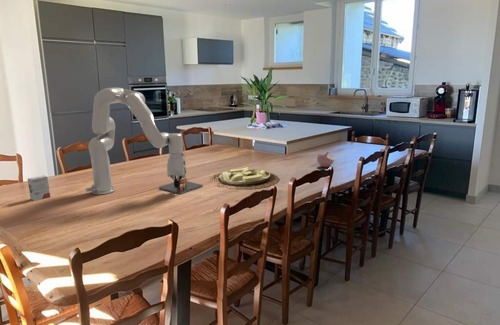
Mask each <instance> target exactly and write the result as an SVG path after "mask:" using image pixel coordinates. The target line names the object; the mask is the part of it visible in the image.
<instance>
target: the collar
mask: <svg viewBox="0 0 500 325" xmlns="http://www.w3.org/2000/svg"><path fill="white" fill-rule="evenodd" d="M187 181H188V178H187V176H186V177H185V178H183V179H181V180H180V186H179V188H180V191H181V190H183V184H185V187H186V186H187Z"/></svg>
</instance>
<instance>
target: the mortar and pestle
mask: <svg viewBox="0 0 500 325" xmlns="http://www.w3.org/2000/svg"><path fill="white" fill-rule="evenodd" d="M328 154H329V151H327V152H326V153H325V154H324V153H322V152H319V153H318V154H317V158H316V162H317V164H318V165H319V166H320V167H322V168H328V167H331V166H333V164H334V162H335V159H334V158H332V157H330V156H328Z"/></svg>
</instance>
